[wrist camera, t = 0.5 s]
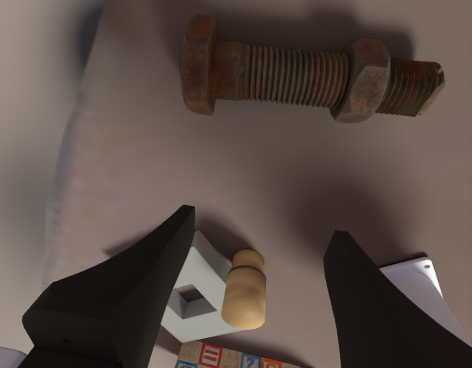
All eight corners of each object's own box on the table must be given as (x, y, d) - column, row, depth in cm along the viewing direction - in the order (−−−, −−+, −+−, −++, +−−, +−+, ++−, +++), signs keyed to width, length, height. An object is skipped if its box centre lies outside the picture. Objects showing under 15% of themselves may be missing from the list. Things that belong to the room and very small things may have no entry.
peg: (272, 267, 28) (272, 325, 23) (241, 276, 30) (235, 332, 24) (255, 242, 27) (251, 298, 21) (223, 253, 28) (212, 308, 23)
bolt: (396, 90, 20) (201, 72, 20) (445, 22, 15) (194, 0, 16) (413, 152, 17) (186, 129, 17) (479, 91, 12) (172, 62, 13)
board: (262, 307, 32) (261, 326, 30) (186, 325, 37) (181, 342, 35) (199, 230, 27) (193, 246, 25) (119, 261, 31) (108, 278, 29)
